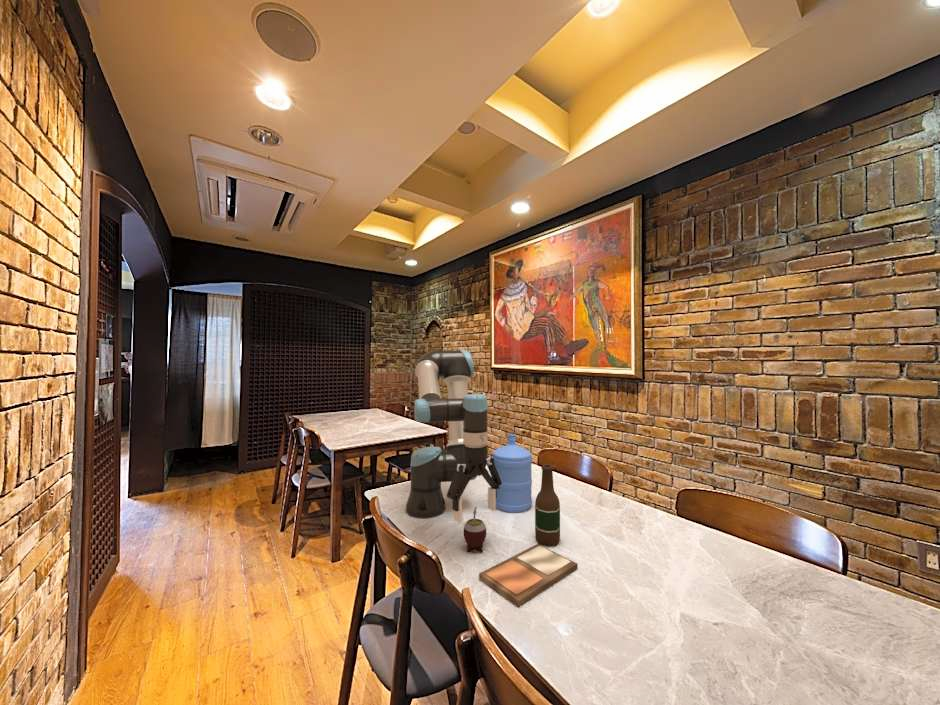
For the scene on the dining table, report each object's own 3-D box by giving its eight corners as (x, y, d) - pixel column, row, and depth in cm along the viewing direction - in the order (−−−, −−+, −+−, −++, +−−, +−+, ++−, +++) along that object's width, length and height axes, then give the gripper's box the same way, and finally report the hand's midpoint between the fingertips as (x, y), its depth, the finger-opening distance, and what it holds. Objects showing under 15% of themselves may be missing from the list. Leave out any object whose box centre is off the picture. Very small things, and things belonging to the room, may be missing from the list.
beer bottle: (560, 548, 110) (560, 470, 111) (534, 546, 112) (534, 468, 112) (559, 536, 118) (559, 462, 118) (535, 534, 119) (535, 461, 120)
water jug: (537, 502, 146) (537, 433, 146) (521, 516, 132) (521, 440, 133) (503, 494, 154) (503, 429, 155) (485, 507, 141) (485, 435, 141)
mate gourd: (474, 540, 115) (474, 493, 116) (493, 549, 110) (493, 500, 110) (457, 549, 110) (457, 499, 110) (476, 559, 104) (476, 507, 105)
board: (479, 579, 95) (479, 572, 95) (537, 548, 110) (537, 542, 110) (518, 607, 84) (518, 599, 84) (577, 569, 100) (577, 562, 100)
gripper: (450, 453, 100) (450, 531, 99) (512, 441, 116) (512, 508, 115) (434, 449, 105) (434, 522, 105) (496, 437, 121) (496, 501, 121)
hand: (475, 515), depth 110 cm, fingers open, 13 cm apart
